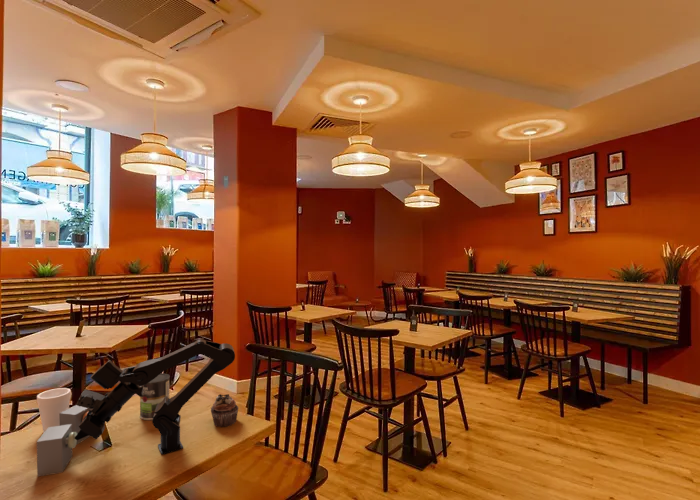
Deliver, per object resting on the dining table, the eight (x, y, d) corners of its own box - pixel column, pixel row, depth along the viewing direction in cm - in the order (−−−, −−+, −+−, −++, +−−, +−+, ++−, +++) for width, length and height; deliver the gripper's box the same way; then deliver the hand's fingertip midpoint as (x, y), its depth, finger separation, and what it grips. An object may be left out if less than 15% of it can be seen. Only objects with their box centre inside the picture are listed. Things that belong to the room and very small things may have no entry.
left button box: (72, 455, 123) (71, 424, 123) (62, 472, 115) (61, 438, 115) (49, 459, 121) (48, 427, 121) (37, 476, 113) (36, 441, 113)
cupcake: (239, 425, 144) (239, 398, 143) (211, 430, 140) (211, 402, 140) (237, 414, 153) (237, 388, 152) (210, 418, 149) (210, 391, 149)
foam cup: (44, 439, 133) (43, 400, 133) (32, 431, 138) (32, 394, 138) (76, 427, 141) (75, 391, 141) (64, 421, 146) (63, 386, 146)
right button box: (97, 431, 139) (97, 403, 138) (75, 445, 130) (75, 414, 129) (82, 430, 140) (82, 401, 139) (59, 443, 131) (59, 413, 130)
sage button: (77, 443, 122) (77, 429, 122) (72, 450, 118) (72, 436, 117) (53, 446, 120) (53, 432, 120) (47, 454, 116) (47, 439, 115)
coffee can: (156, 422, 146) (155, 384, 146) (133, 418, 149) (133, 380, 149) (176, 410, 156) (175, 374, 155) (154, 406, 159) (154, 371, 158)
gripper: (103, 371, 130) (63, 409, 126) (87, 393, 112) (40, 438, 109) (131, 392, 133) (92, 430, 129) (119, 416, 115) (74, 461, 112)
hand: (76, 438), depth 120 cm, fingers closed, pressing on sage button
